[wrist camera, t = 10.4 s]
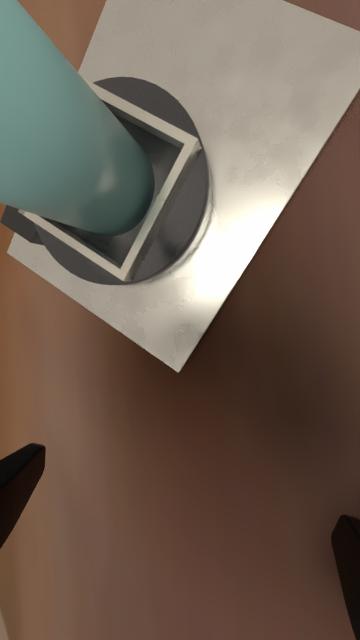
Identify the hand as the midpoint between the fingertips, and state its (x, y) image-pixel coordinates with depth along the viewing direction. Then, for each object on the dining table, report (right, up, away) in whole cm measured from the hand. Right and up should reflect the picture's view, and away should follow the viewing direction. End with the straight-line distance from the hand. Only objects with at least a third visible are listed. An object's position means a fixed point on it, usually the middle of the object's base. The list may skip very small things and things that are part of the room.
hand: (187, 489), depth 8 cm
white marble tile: (-2, +15, +11) cm, 19 cm away
